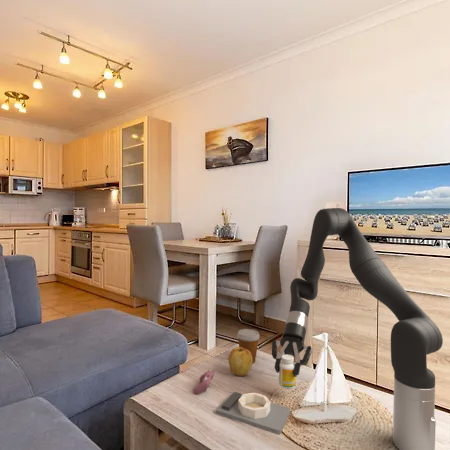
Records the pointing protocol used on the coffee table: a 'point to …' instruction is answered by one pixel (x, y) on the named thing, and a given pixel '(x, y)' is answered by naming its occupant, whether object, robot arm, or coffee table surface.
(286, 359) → the supplement bottle
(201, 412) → the coffee table surface
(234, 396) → the board
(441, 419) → the coffee table surface
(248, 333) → the disposable coffee cup
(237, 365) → the apple
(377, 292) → the robot arm
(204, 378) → the pink toy shoe
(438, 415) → the coffee table surface
